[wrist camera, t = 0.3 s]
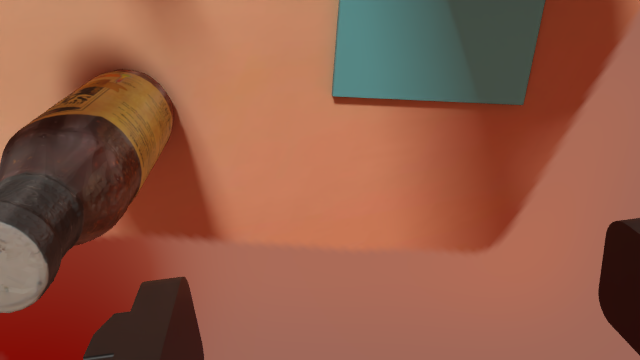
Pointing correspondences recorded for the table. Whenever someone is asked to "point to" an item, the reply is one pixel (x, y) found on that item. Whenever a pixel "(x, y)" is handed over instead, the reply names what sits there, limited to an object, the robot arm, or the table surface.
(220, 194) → the table surface
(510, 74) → the pad
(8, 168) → the sauce bottle
